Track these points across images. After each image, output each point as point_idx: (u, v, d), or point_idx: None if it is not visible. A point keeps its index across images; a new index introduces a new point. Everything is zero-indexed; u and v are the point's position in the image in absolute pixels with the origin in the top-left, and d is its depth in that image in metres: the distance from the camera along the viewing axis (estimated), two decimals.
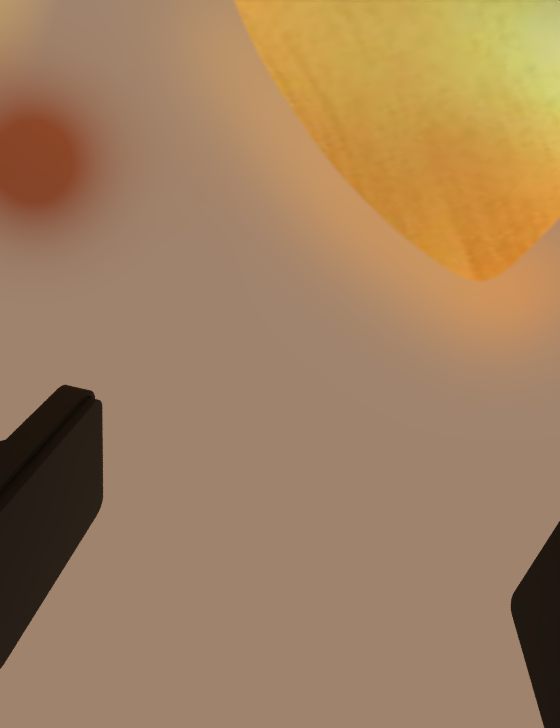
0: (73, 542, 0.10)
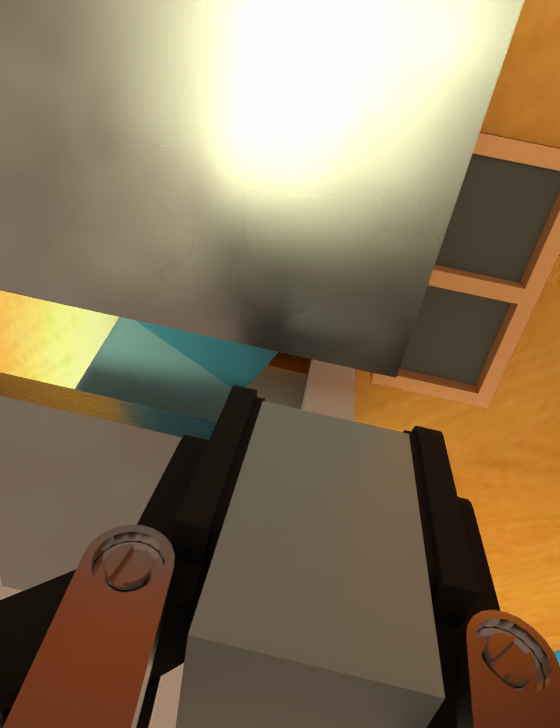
0: None
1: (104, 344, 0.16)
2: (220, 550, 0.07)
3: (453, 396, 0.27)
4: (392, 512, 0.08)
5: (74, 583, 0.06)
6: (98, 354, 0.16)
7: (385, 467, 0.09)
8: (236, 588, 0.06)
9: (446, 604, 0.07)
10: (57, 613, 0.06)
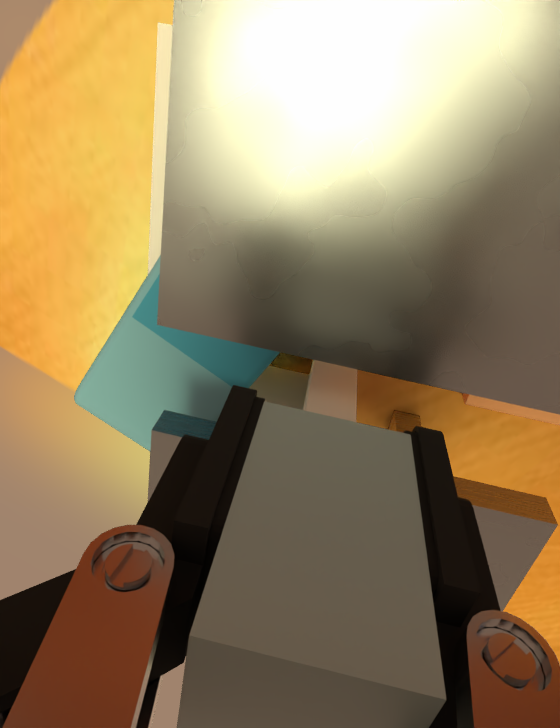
0: None
1: (106, 344, 0.16)
2: (221, 551, 0.07)
3: (549, 418, 0.27)
4: (394, 513, 0.08)
5: (74, 583, 0.06)
6: (100, 354, 0.16)
7: (387, 468, 0.09)
8: (238, 589, 0.06)
9: (446, 604, 0.07)
10: (57, 613, 0.06)
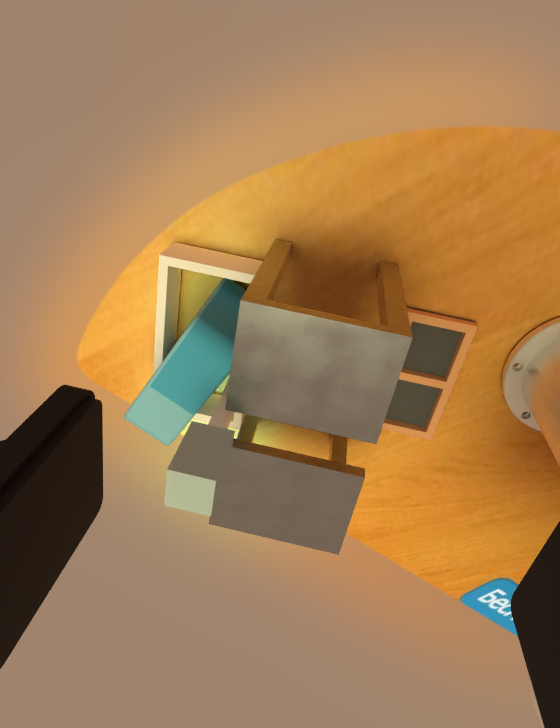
0: (73, 542, 0.10)
1: (139, 395, 0.40)
2: (175, 456, 0.31)
3: (413, 434, 0.51)
4: (219, 450, 0.32)
5: None
6: (136, 399, 0.40)
7: (222, 440, 0.33)
8: (177, 463, 0.30)
9: None
10: None
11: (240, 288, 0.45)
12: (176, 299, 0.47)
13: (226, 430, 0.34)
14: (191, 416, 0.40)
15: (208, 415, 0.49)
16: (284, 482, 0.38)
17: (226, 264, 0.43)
